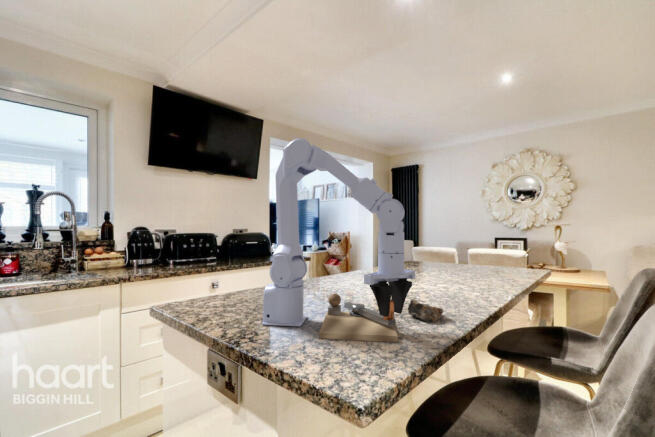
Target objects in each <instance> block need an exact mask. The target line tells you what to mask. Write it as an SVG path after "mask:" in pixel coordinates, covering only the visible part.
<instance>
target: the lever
mask: <svg viewBox="0 0 655 437" xmlns="http://www.w3.org/2000/svg"><path fill="white" fill-rule="evenodd" d="M343 306H344V309H348V310H349V311H352V312H353V313H358V314H361V315H363V316H366V317H368V318H370V319H373V320H375V321H378V322H380V323H382V324H385V325H387V326H390V325H394V326H395V325H396V318H395V312H394V300H392V299H391V300H390V312H389V316H388V317H385V316H382V315H380V313H379V312H378V311H376V310H373V309H370V308H367V307H366V306H365V304H363V303H352V302H351V301H347V302H344V304H343Z"/></svg>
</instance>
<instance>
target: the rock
mask: <svg viewBox="0 0 655 437" xmlns="http://www.w3.org/2000/svg"><path fill="white" fill-rule="evenodd" d="M407 312H408V314H409V315H410V316H413V317H414V318H416V319H420V320H422V321H423V322H431V323H433V322H434V323H435V322H437V321H438V320H439V319H440V318H442V317H443V312H444V309H443V308H441V307H436V306H431V305H429V304H428V303H420V302H419V301H417V300H416V299H410V303H409V304H408V307H407Z"/></svg>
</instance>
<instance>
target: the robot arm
mask: <svg viewBox="0 0 655 437" xmlns="http://www.w3.org/2000/svg"><path fill="white" fill-rule="evenodd" d="M282 152H283V153H282V157H281V160H280V162H279V165H278V168H277V170H276V173H275V200H276V201H275V202H276V204H275V205H276V206H275V207H276V226H277V227H276V231H277V233H276V234H277V246H276V249H275V250H274V252H273V254H272V263H271V265H270V267H269V278H270V279H271V281H272V282H273V284H267V285H266V286H265V288H264V291H263V299H262V306H263V307H262V322H261V324H262V325H263V326H280V327H284V326H285V327H302V326H303V324H304V322H305V321H306V319H307V317H308V315H307V314H304V289H305V288H304V286H305V284H304V280H303V278H304V277H305V276H306V274H307V272H308V265H307V262H306V260H305V258H304V251H303V249H302V247H301V246H300V232H299V231H300V229H299V227H300V226H299V201H298V200H299V199H298V198H299V197H298V183H299V182H300V181H301V180H302V179H303V178H304V177H305V176H308V175H310V174H311V173H314V172H315V171H319V172H328V173H330V174H331V175H332V176H333V177H334V178H336V179H337V180H339V182H341V183H343V184H344V185H346V187H348V188H349V189H350V192H351V198H352V199H354V200H355V201H356V202H358V204H359V205H361V206H363V207H364V208H365V209H366V210H367V211H369V212H370V213H371V214H376V217H377V219H378V221H379V223H378V224H379V225H378V226H379V228H378V233H377V234H378V237H377V238H378V239H377V241H378V242H377V245H378V246H377V249H378V250H377V271H375V272H371V273H370V272H369V273H367V274H363V283H364V285H368V286H369V288H370V289H371V291H372V293H373V295H374V298H375V300H376V304H377V309H378V311H379V312H378V313H380V315H382V316H385V317H388V316H389V312H390V300H394V313H396V314H402V313H403V309H404V305H405V301H406V299H407V296H408V295H409V294H408V293H409V291H410V290H411V288H412V286H413V281H411V280H415V279H416V270H414V269H405V232H404V228H405V224H404V221H403V219H404V218H405V209H404V205H403V204H402V203H401V202H400V201H399V200H398V199H396V198H393V197H394V195H393V193H391V192H387V191H385V190H384V189H383V188H382V187H380V186H379V185H378V183H377V180H375V179H374V178H371V179H370V178H369V177H367V176H366V177H357V175H355V174H354V173H353V172H351V170H350V169H348V168H347V167H346V166H345V165H343V164H342V163H340V162H339V161H338V159H336V158H335V157H333V156H332V155H331V154H329V153H328V152H327V151H325V150H324V149H322V148H320V147H319V146H317V145H315V144H313V143H312V144H311V143H310V142H309V141H308V140H307V139H306V138H304V137H303V138H302V137H297V138H294V139H292V140H291V141H290V142H289V143H288V144H287V145H286V146H285V147H283V149H282Z"/></svg>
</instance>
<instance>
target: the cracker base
mask: <svg viewBox="0 0 655 437" xmlns="http://www.w3.org/2000/svg"><path fill="white" fill-rule="evenodd" d="M341 299H342V298H341V296H340V295H339V294H337V293H331V294H330V295H329V297H328V299H327V300H328V303H329V305H328V307H327V312H326V314H325V317H324V319H323V322H322V325H321V328H320V329H319V334H318V336H319V337H318V339H330V340H345V341H346V340H347V341H367V342H383V343H384V342H385V343H386V342H387V343H399V342H398V338H399V336H398V334H397V331H396V328H395V325H390V326H387V325H385V324H382V323H380V322H378V321H375V320H373V319H370V318H368V317H366V316H363V315H361V314H358V313H353V312H352V310H350V311H342V310H341V309H342V305H341V302H342V300H341Z"/></svg>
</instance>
